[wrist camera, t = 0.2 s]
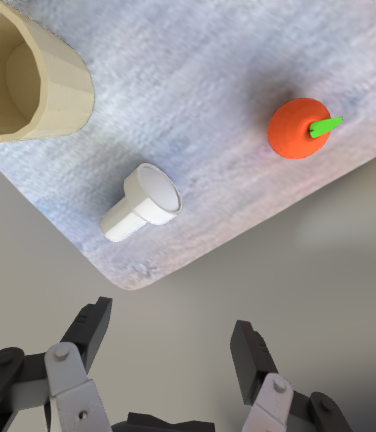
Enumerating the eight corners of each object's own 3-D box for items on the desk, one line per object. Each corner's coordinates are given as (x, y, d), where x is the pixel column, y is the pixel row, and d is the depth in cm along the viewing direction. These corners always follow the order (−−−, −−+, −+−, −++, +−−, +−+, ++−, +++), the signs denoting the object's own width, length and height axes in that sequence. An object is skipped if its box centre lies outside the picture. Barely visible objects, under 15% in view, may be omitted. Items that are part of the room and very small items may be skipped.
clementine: (317, 89, 29) (355, 79, 22) (323, 142, 31) (358, 148, 25) (255, 111, 30) (274, 108, 23) (266, 161, 32) (285, 172, 26)
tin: (27, 8, 26) (-70, -60, 16) (111, 83, 29) (72, 63, 19) (-12, 94, 29) (-111, 80, 19) (67, 153, 32) (14, 167, 22)
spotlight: (192, 201, 33) (173, 222, 26) (142, 237, 38) (114, 263, 31) (157, 156, 32) (128, 165, 25) (110, 199, 37) (75, 217, 30)
